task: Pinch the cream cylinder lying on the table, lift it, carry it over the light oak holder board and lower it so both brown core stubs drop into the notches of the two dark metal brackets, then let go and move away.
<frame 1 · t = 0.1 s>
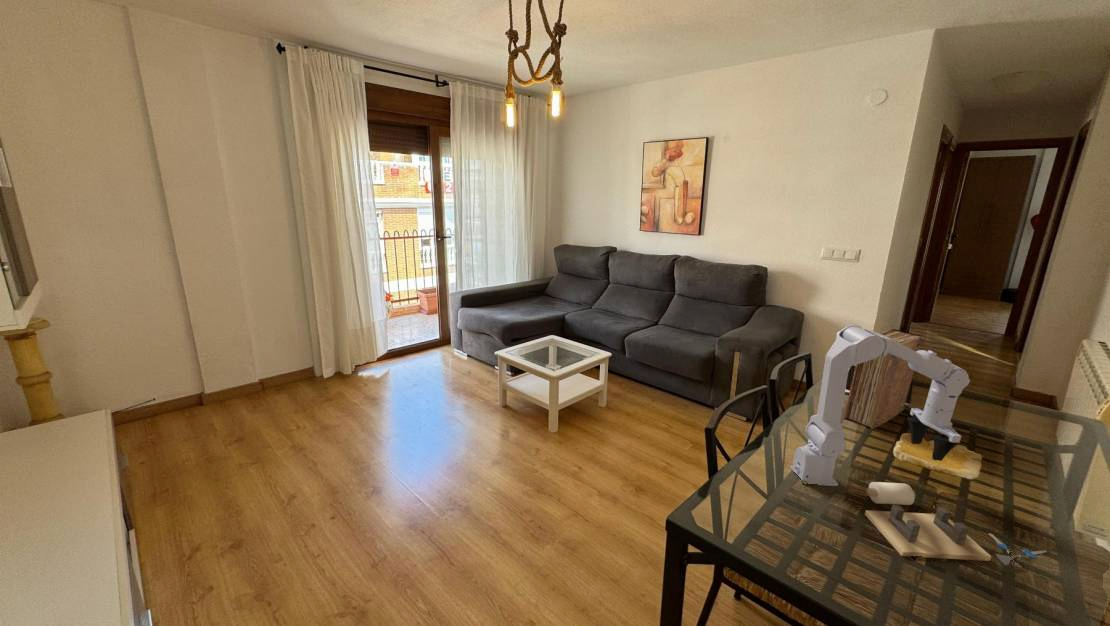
hand: (926, 451, 121), 10 cm above the table, fingers open, 7 cm apart
brown upright rectangular block: (873, 415, 161), on the table
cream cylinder: (890, 493, 115), point 2 cm above the table
roll holder: (923, 536, 104), on the table
key chain: (1007, 550, 101), on the table
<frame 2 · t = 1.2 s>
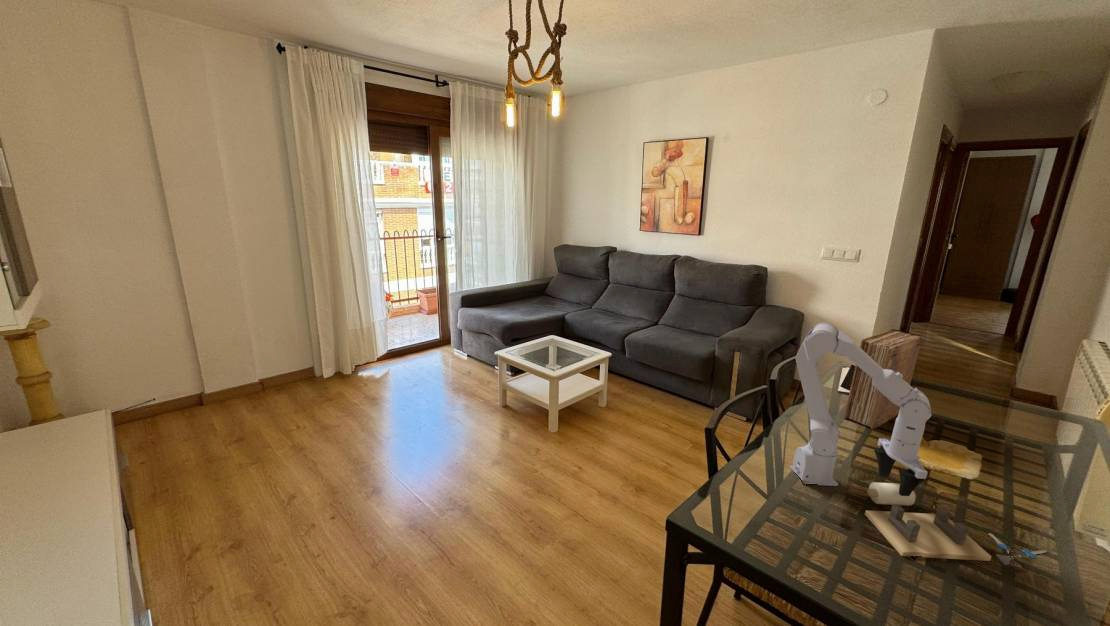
hand: (893, 485, 114), 5 cm above the table, fingers open, 7 cm apart
nothing on the table moved.
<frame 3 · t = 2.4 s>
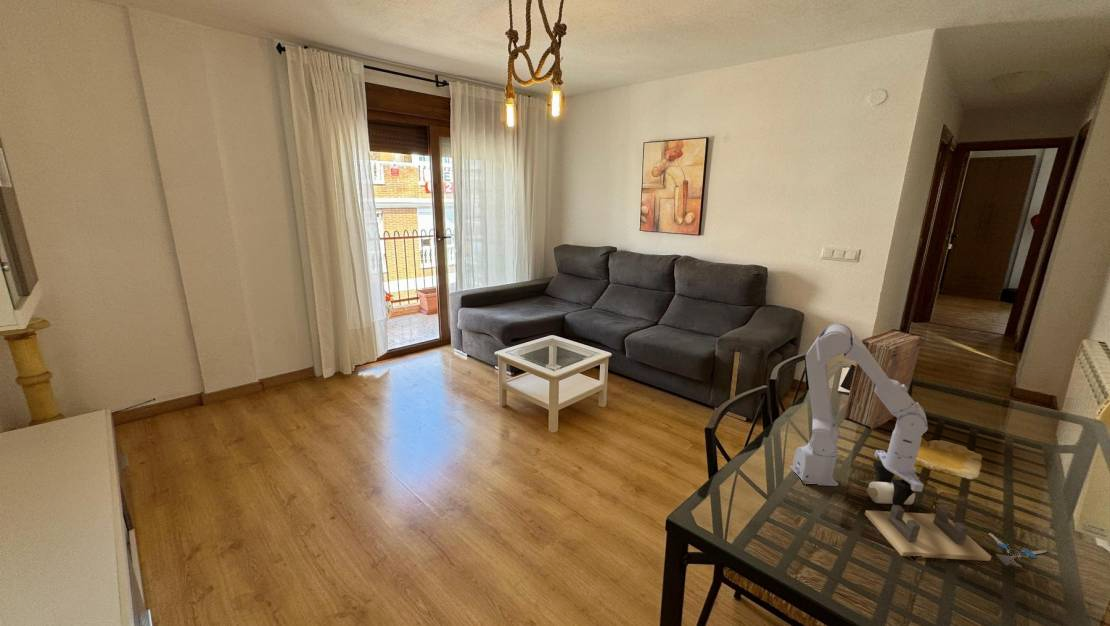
hand: (889, 496, 115), 1 cm above the table, fingers closed on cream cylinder, 5 cm apart
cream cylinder: (890, 493, 115), point 3 cm above the table, touching gripper
everything else where it was.
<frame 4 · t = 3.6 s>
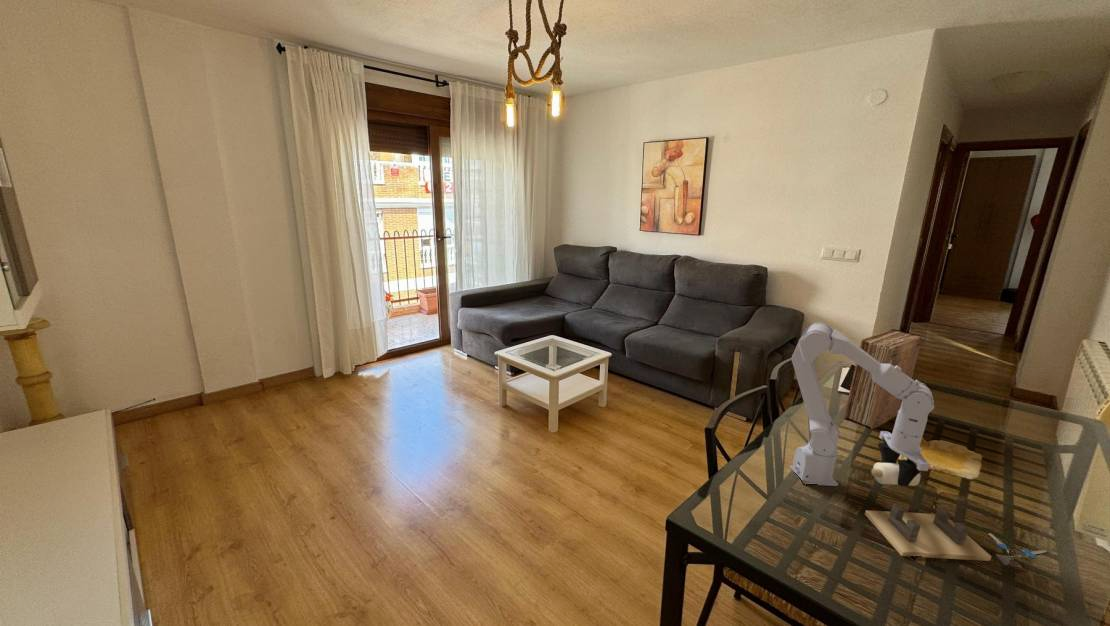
hand: (894, 477, 113), 7 cm above the table, fingers closed on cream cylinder, 5 cm apart
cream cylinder: (896, 473, 113), point 8 cm above the table, touching gripper
everything else where it was.
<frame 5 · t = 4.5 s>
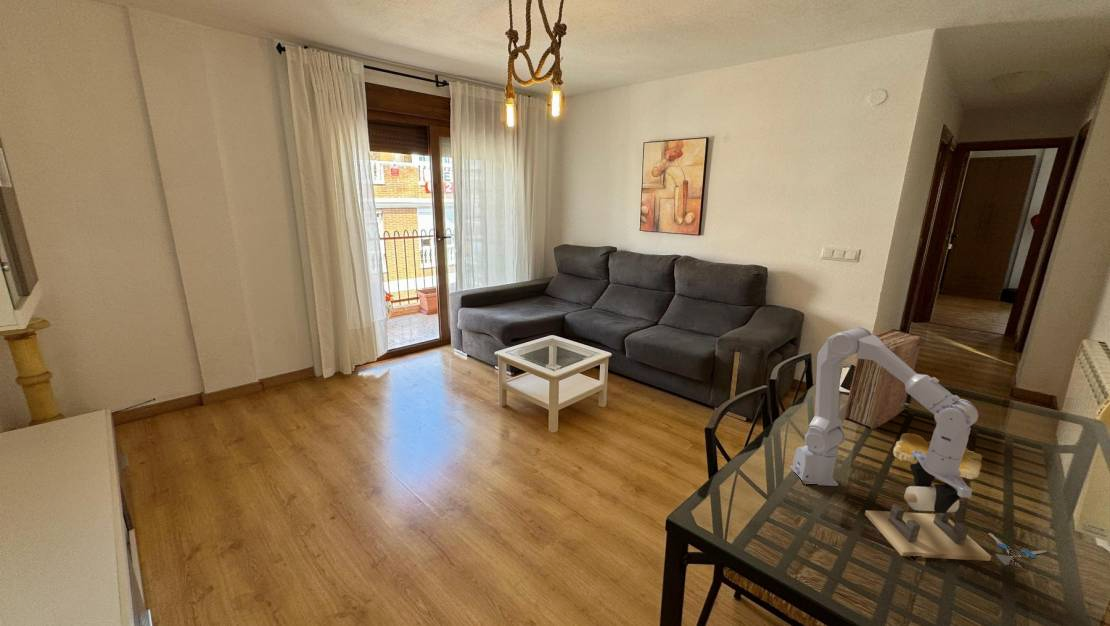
hand: (930, 503, 102), 8 cm above the table, fingers closed on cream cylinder, 5 cm apart
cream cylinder: (931, 498, 102), point 10 cm above the table, touching gripper
everything else where it was.
when the fingers open (4 cm above the table, at t = 6.4 s): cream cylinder stays where it is, resting on roll holder.
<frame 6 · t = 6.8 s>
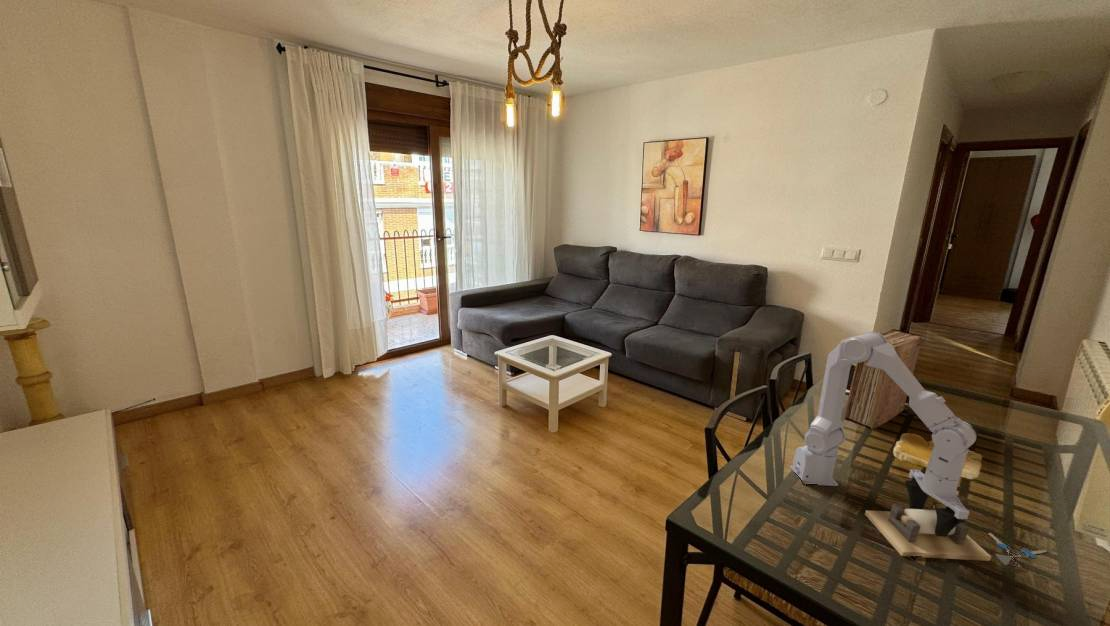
hand: (927, 522, 103), 4 cm above the table, fingers open, 7 cm apart
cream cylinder: (928, 521, 103), point 4 cm above the table, touching roll holder
everything else where it was.
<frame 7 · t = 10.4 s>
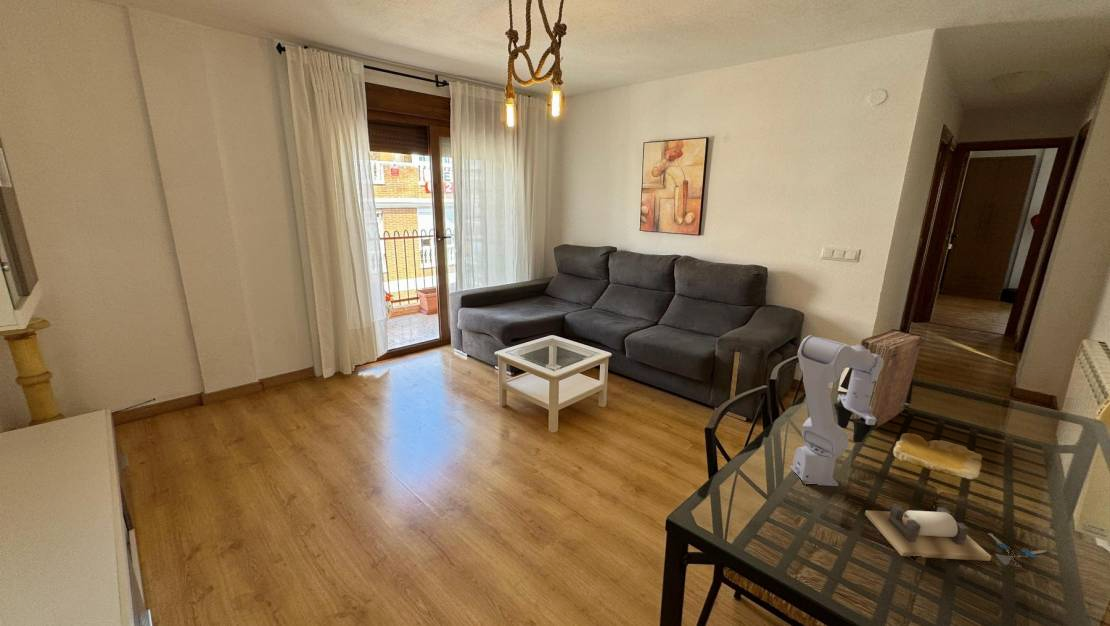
hand: (849, 434, 129), 9 cm above the table, fingers open, 7 cm apart
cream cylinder: (930, 523, 102), point 4 cm above the table, tilted 35°, touching roll holder
everything else where it was.
at the end: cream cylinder 0.6 cm off-centre on the roll holder, point 4.1 cm above the roll holder's base; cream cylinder touching roll holder; the gripper is holding nothing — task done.
